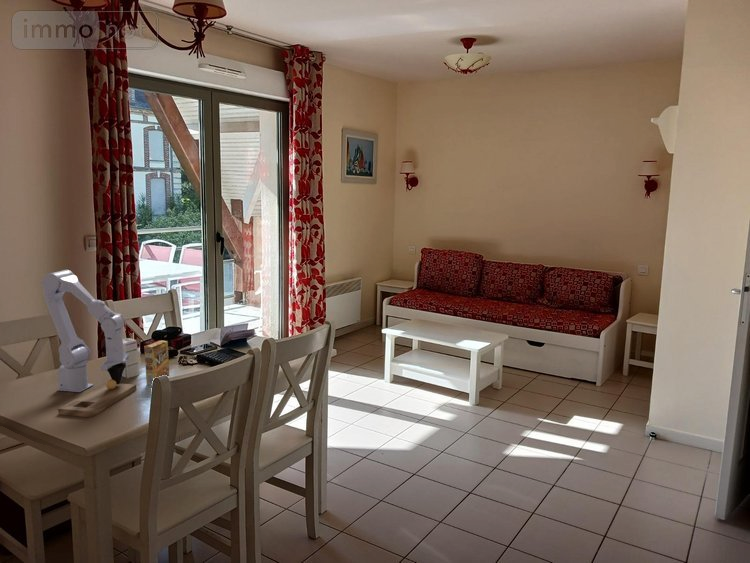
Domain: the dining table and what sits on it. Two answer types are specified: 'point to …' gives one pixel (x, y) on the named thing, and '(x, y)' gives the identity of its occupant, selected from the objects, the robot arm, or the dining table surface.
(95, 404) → the hole board
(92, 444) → the dining table surface
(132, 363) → the syrup box
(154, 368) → the candy box
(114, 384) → the ball
